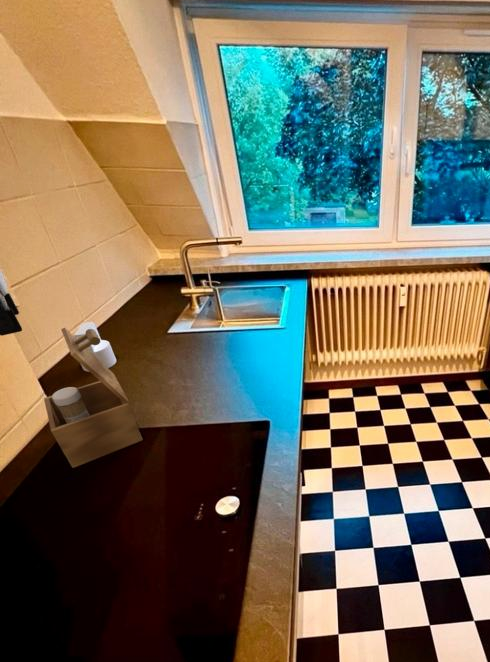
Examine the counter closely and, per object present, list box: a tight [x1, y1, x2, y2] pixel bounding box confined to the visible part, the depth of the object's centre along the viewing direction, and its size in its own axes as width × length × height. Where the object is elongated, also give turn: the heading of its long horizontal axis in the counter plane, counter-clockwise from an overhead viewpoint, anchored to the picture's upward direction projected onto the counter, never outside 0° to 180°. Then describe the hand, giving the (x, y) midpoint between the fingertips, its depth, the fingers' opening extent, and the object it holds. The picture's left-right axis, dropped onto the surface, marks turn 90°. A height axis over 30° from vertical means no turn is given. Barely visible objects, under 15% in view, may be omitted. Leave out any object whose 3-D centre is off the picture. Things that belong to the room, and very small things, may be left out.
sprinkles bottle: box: [51, 386, 90, 424], centre depth 83 cm, size 5×5×14 cm
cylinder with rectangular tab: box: [73, 321, 117, 373], centre depth 114 cm, size 9×9×12 cm
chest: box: [43, 380, 144, 469], centre depth 86 cm, size 14×15×11 cm
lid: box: [60, 327, 130, 404], centre depth 82 cm, size 14×15×5 cm
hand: (10, 324), depth 69 cm, fingers open, 9 cm apart
